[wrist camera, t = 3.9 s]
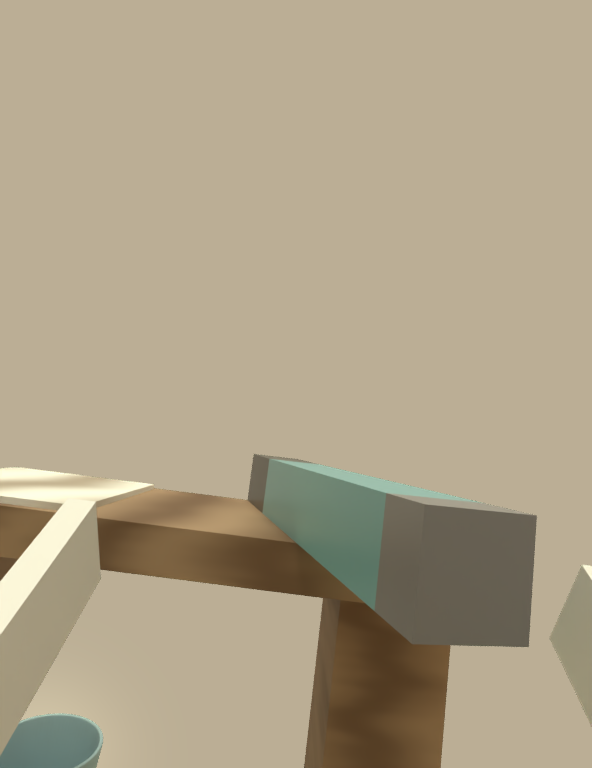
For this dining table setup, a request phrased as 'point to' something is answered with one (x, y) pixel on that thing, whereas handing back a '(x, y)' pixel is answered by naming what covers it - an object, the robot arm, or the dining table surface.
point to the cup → (53, 743)
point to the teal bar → (408, 550)
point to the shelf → (262, 572)
